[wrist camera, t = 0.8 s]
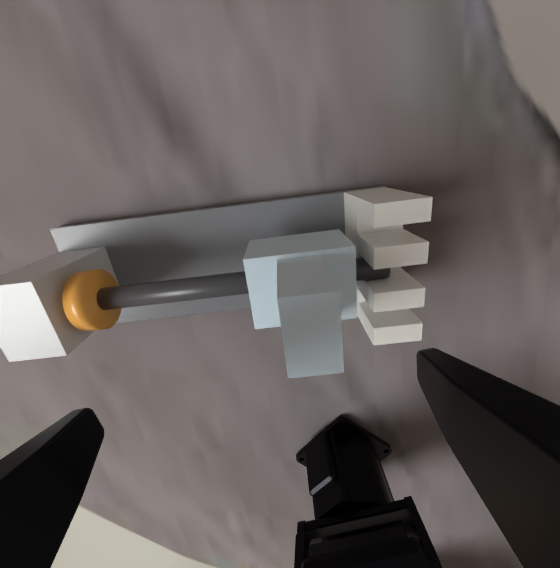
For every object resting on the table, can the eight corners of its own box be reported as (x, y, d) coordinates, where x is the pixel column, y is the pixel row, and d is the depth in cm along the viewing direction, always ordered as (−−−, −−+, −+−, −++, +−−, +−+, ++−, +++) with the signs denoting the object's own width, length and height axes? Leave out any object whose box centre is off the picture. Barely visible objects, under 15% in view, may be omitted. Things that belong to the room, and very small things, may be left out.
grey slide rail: (383, 185, 18) (442, 196, 12) (381, 287, 21) (429, 341, 14) (60, 225, 19) (-52, 257, 12) (99, 319, 22) (22, 385, 15)
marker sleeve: (339, 229, 16) (388, 279, 9) (341, 288, 17) (386, 372, 10) (249, 240, 16) (228, 297, 9) (259, 298, 17) (247, 387, 10)
